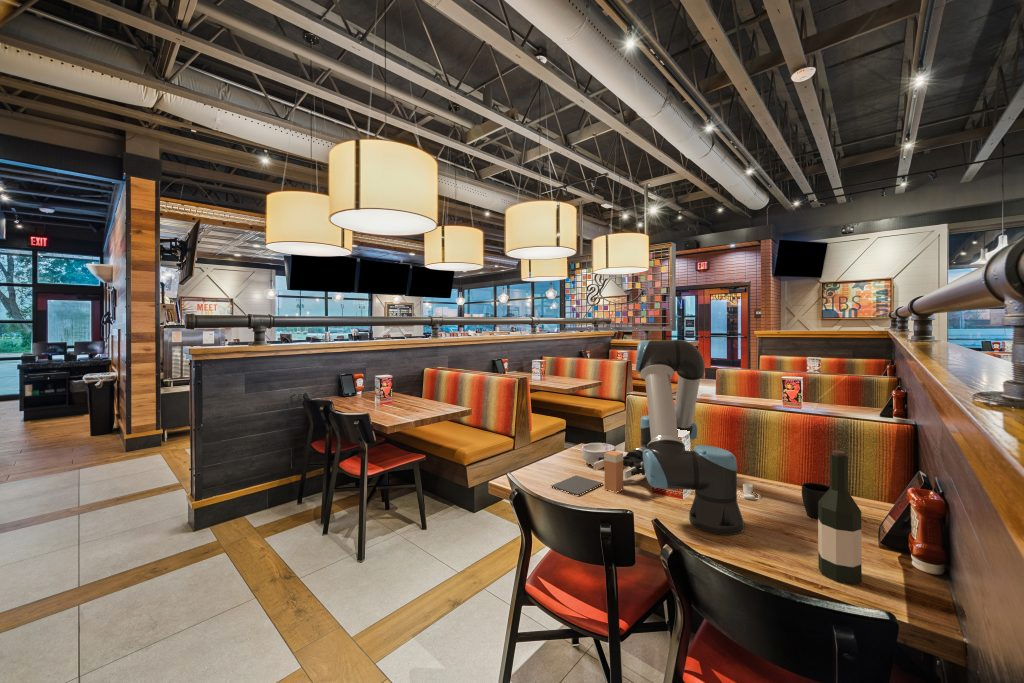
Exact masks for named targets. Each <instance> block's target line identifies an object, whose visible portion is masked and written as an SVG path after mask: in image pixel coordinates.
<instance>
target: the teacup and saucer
mask: <svg viewBox="0 0 1024 683" xmlns="http://www.w3.org/2000/svg"><path fill="white" fill-rule="evenodd" d="M753 486H754V485H753V484H750V483H747V482H745V483H743V484H742V489H743V490H742V491H743V492H742V493H743V494H742V495H740V494H739V495H740V498H742V499H745V500H746V499H747V500H759V499H761V498H762V496H761V495H760V494H759V493H757V492H754V491H753V490H754V489H753V488H754V487H753ZM740 491H741V490H737V492H740ZM752 492H753V493H756V494H757V495H758V496H759V497H758V496H757V495H756V494H753V493H752ZM740 493H741V492H740ZM737 494H738V493H737ZM739 495H738V496H737V497H739ZM755 496H757V497H758V498H757V497H755Z"/></svg>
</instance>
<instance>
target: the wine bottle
mask: <svg viewBox="0 0 1024 683" xmlns="http://www.w3.org/2000/svg"><path fill="white" fill-rule="evenodd" d="M846 454H847V453H846V452H845V451H843V450H837V449H836V450H835V449H834V450H832V452H831V453H830V454H829V455H830V457H829V458H830V459H829V464H830V466H829V469H830V470H829V471H830V472H829V473H830V474H829V476H830V478H829V479H830V483H829V484H830V486H829V487H830V489H829V490H828V491H827V492H826V493H825V494H824V496H823V497H822V498H821V499H820V500H819V501H818V520H817V524H818V526H817V527H818V528H817V529H818V530H817V531H818V532H817V534H818V538H817V540H818V541H817V542H818V544H817V545H818V548H817V550H818V553H817V554H818V557H817V560H818V561H817V562H818V564H817V565H818V570H819V571H820V574H821V575H822V576H823V577H825V578H827V579H830V580H831V581H834V582H836V583H840V584H845V585H852V586H854V585H856V584H859V583H862V577H863V576H862V510H861V509H860V507H859V506H858V504H857V503H856V501H855V500H854V498H853V497H852V495H851V494H850V492H849V456H848V455H846Z"/></svg>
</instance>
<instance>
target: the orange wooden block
mask: <svg viewBox="0 0 1024 683" xmlns="http://www.w3.org/2000/svg"><path fill="white" fill-rule="evenodd" d="M623 457H624V453H623V452H621V451H617V450H616V451H609V452H606V453H604V467H603V468H604V469H603V470H604V471H603V472H604V490H605V489H607V490H611V491H614V492H617V491H620V490H621V489H625V488H624V466H623ZM620 492H621V491H620Z"/></svg>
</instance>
